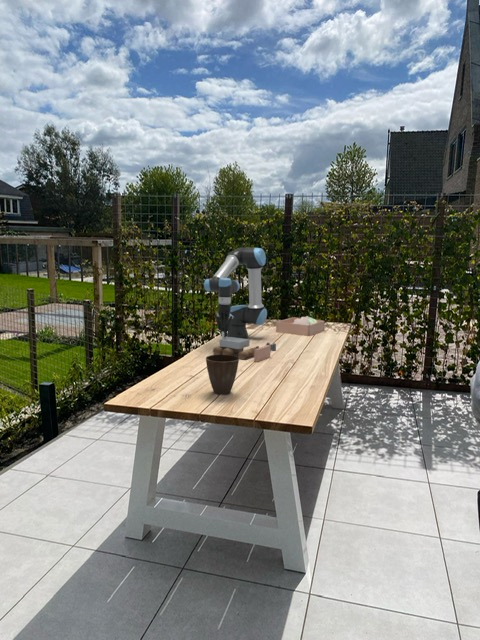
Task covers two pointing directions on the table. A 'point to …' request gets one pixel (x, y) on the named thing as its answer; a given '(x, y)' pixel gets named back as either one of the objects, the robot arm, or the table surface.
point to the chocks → (238, 353)
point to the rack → (273, 347)
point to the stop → (262, 353)
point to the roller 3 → (246, 353)
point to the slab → (234, 342)
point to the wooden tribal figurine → (305, 321)
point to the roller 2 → (231, 351)
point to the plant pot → (222, 372)
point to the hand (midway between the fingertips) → (223, 341)
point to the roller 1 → (218, 350)
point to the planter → (299, 327)
